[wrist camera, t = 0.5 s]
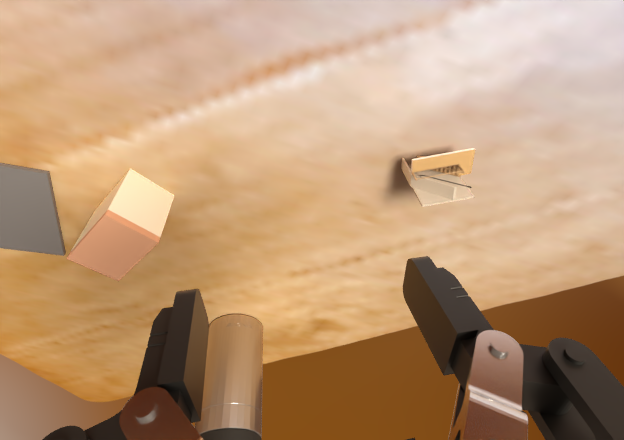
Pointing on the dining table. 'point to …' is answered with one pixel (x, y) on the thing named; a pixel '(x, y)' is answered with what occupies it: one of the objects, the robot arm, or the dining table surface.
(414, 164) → the architectural model
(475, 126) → the dining table surface
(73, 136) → the dining table surface
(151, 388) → the robot arm
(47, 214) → the mat
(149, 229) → the block
